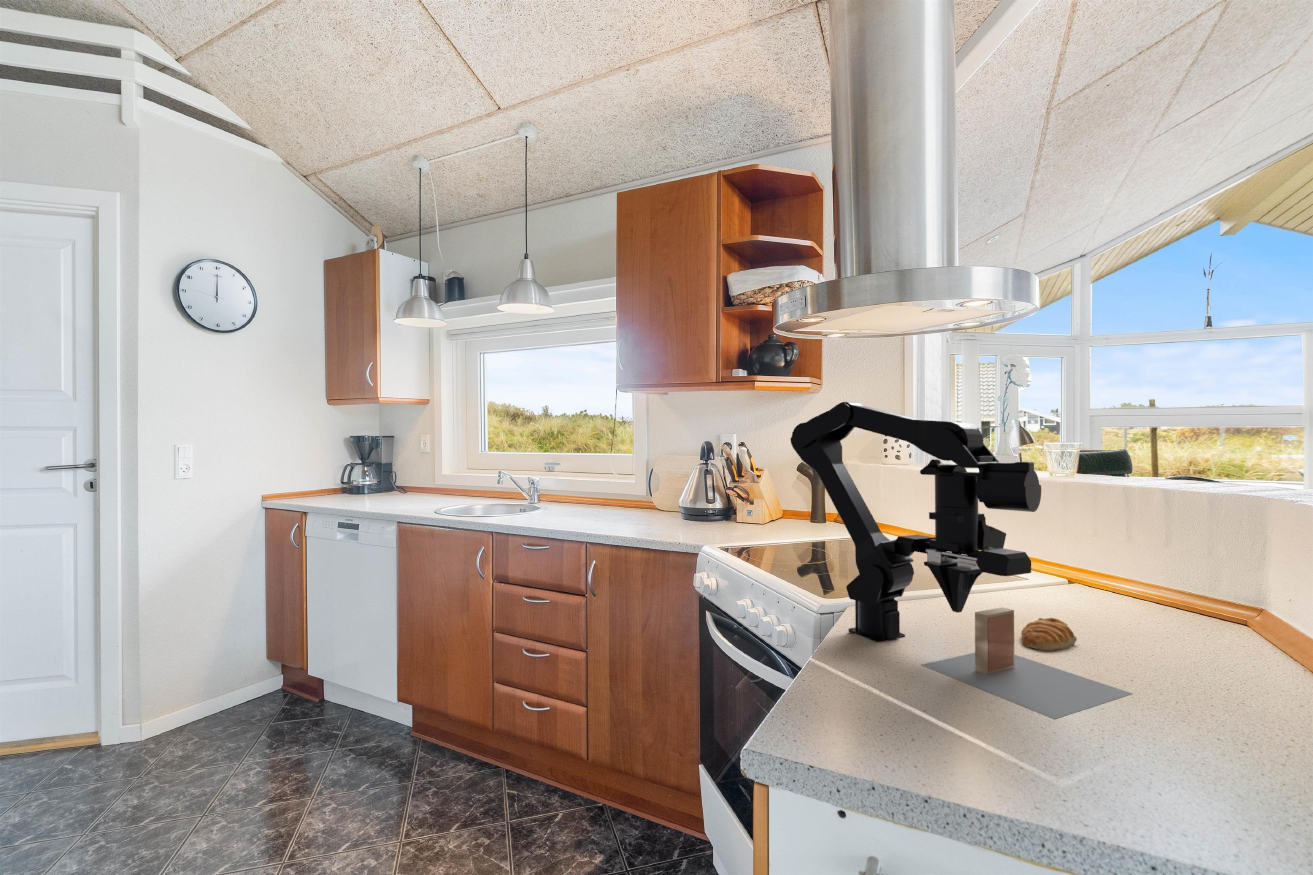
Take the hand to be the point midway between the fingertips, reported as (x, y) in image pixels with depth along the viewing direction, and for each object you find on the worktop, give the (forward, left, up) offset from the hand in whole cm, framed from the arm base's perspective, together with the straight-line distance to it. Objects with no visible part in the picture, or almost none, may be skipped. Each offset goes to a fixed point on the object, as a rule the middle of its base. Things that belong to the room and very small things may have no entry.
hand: (957, 611), depth 85 cm
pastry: (+2, +18, -7) cm, 20 cm away
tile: (+6, 0, -6) cm, 9 cm away
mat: (+9, 0, -7) cm, 12 cm away
